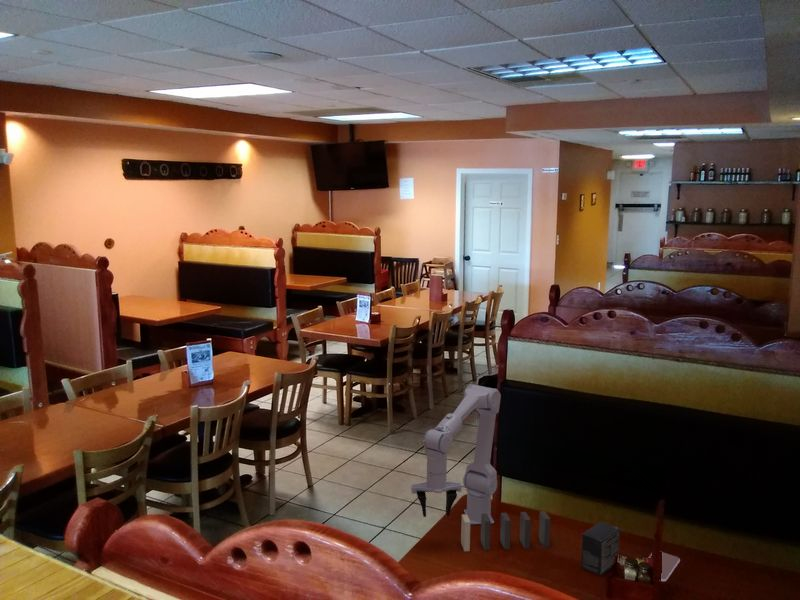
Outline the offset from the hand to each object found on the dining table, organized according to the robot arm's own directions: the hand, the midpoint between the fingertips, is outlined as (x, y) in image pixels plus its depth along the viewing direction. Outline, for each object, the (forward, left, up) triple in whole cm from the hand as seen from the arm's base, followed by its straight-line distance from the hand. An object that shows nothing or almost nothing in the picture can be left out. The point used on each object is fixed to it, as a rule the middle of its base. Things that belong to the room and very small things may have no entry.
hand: (435, 514), depth 192 cm
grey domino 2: (0, +27, -10) cm, 29 cm away
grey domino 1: (0, +15, -10) cm, 18 cm away
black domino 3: (0, +21, -10) cm, 23 cm away
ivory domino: (0, +9, -10) cm, 14 cm away
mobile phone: (+15, +62, -11) cm, 64 cm away
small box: (+13, +45, -11) cm, 48 cm away
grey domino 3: (0, +33, -10) cm, 35 cm away
